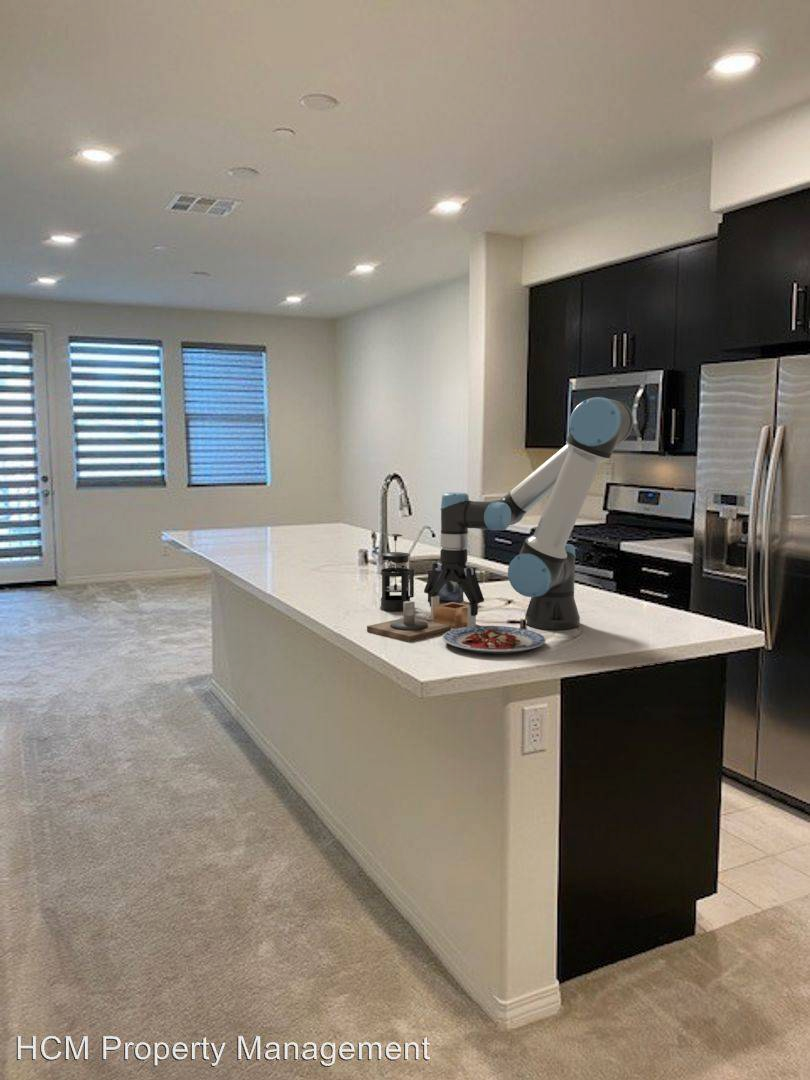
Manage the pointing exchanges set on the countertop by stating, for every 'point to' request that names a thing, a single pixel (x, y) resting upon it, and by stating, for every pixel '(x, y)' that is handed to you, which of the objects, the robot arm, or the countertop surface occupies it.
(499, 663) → the countertop surface
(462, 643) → the ceramic plate
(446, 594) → the small box
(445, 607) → the open wooden box
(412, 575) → the french press
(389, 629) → the post stand
